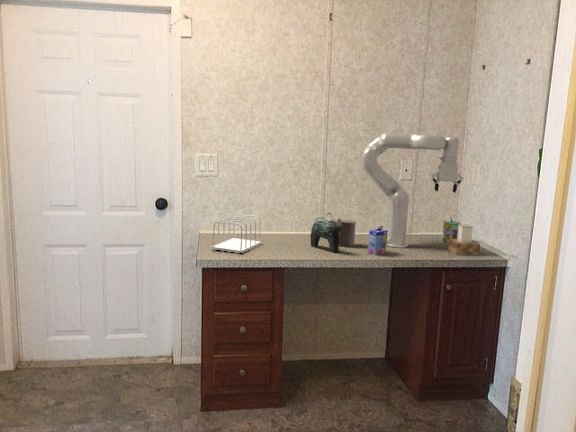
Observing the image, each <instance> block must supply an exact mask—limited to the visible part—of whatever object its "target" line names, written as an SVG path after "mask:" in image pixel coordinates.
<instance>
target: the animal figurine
mask: <svg viewBox="0 0 576 432" xmlns="http://www.w3.org/2000/svg"><path fill="white" fill-rule="evenodd" d="M326 215H327V216H328V215H330V220H327V219H326V218H324V217H322V219H321V217H317V218H316V219H315V221H314V223H313V224H312V227H311V233H310V247H312V248H318V247H319V244H320V243H319V242H320V240H321V238H322V239H324V240H326V241H327V242H328V244H329V245H328V246H329V252H330V253H334V254H335V253H339V251H340V248H339V247H340V246H339V234H338V232H340V231H341V230H342V228H343V224H342V222H341V221H340V220H341V218H338V219H335V218H333V217H332V213H331V212H327V214H326ZM319 219H321V220H319Z"/></svg>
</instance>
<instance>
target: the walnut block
mask: <svg viewBox="0 0 576 432" xmlns="http://www.w3.org/2000/svg"><path fill="white" fill-rule="evenodd" d="M480 248H481V244H480V243H479V242H477V241H475V240H473V239H471V243H465V242H460V241H458V240H457V239H449V242H448V251H450V252H452V253H453V254H455V255H456V256H480Z"/></svg>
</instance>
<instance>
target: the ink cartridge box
mask: <svg viewBox="0 0 576 432" xmlns="http://www.w3.org/2000/svg"><path fill="white" fill-rule="evenodd" d="M383 227H384V225H381V226H378V228H375V229H371V230H369V232H368V235H369V236H368V244H367V253H368V254H369V255H373V254H374V256H376V255H381V254H385V253H386V252H387V251H386V250H387V245H386V243H387V236H388V234H389V229H385V228H383Z"/></svg>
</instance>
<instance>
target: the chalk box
mask: <svg viewBox="0 0 576 432" xmlns="http://www.w3.org/2000/svg"><path fill="white" fill-rule="evenodd" d="M442 224H443V225H442V227H443V228H442V238H441V239H442V241H443V243H449V239H457V238H458V227H459V226H458V224H462V223H461V222H460V221H455V220H454V221H453V217H452V216H450V220H443V223H442Z"/></svg>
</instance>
